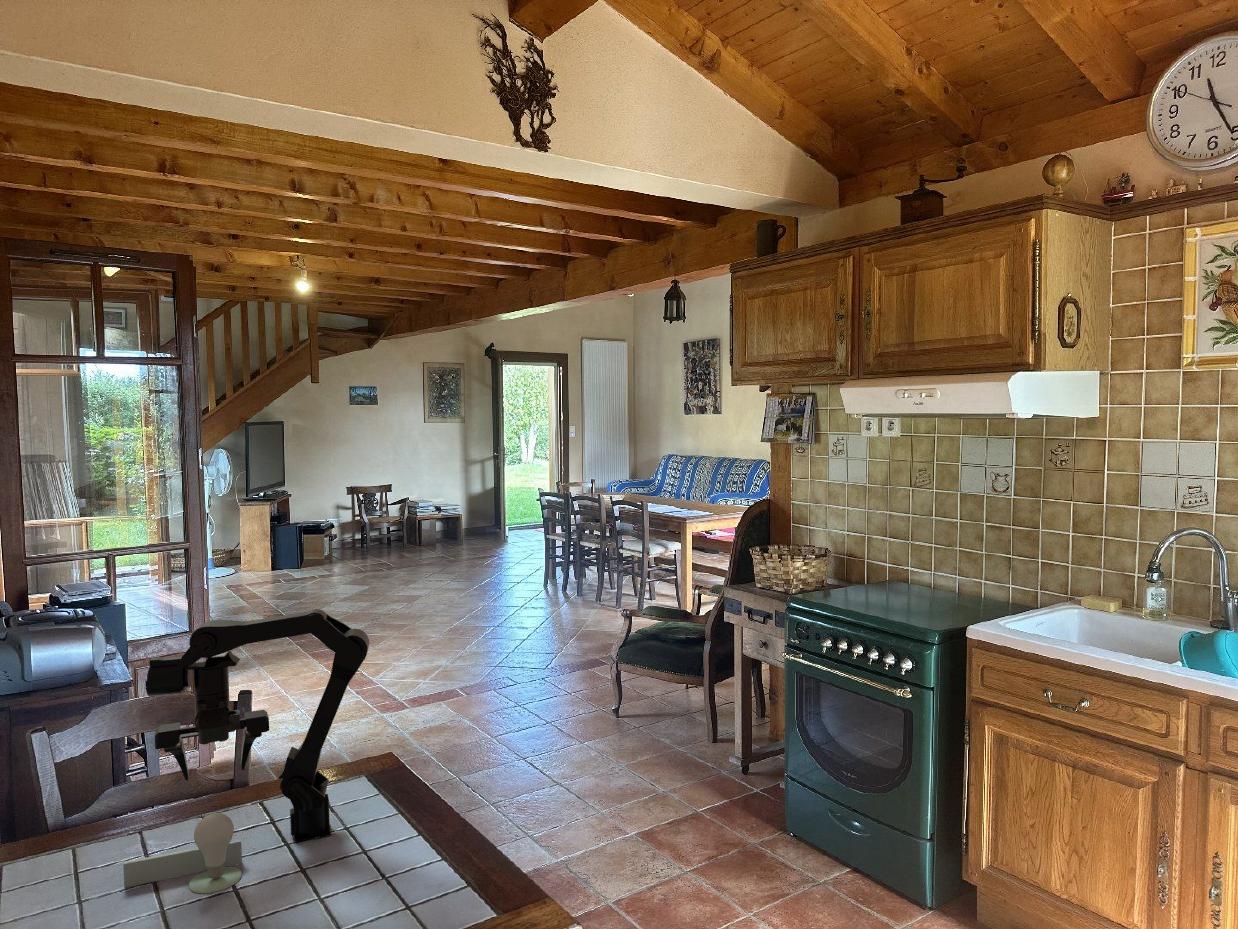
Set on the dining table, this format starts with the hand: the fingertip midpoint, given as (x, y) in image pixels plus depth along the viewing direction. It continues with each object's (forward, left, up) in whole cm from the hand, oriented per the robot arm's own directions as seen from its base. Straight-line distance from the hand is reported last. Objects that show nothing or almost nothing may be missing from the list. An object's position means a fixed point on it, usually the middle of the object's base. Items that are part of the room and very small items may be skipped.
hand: (215, 774), depth 155 cm
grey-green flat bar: (+5, +9, -13) cm, 17 cm away
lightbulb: (0, +14, -13) cm, 19 cm away
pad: (0, +14, -13) cm, 19 cm away
